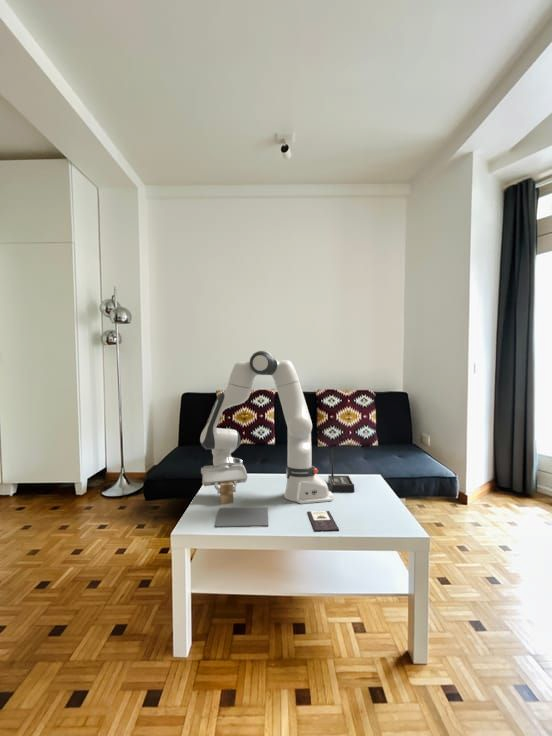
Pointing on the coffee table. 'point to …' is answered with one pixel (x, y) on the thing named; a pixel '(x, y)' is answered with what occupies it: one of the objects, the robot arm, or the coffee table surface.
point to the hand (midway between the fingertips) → (226, 492)
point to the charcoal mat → (242, 517)
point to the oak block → (226, 492)
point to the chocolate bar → (322, 521)
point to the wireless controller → (339, 481)
